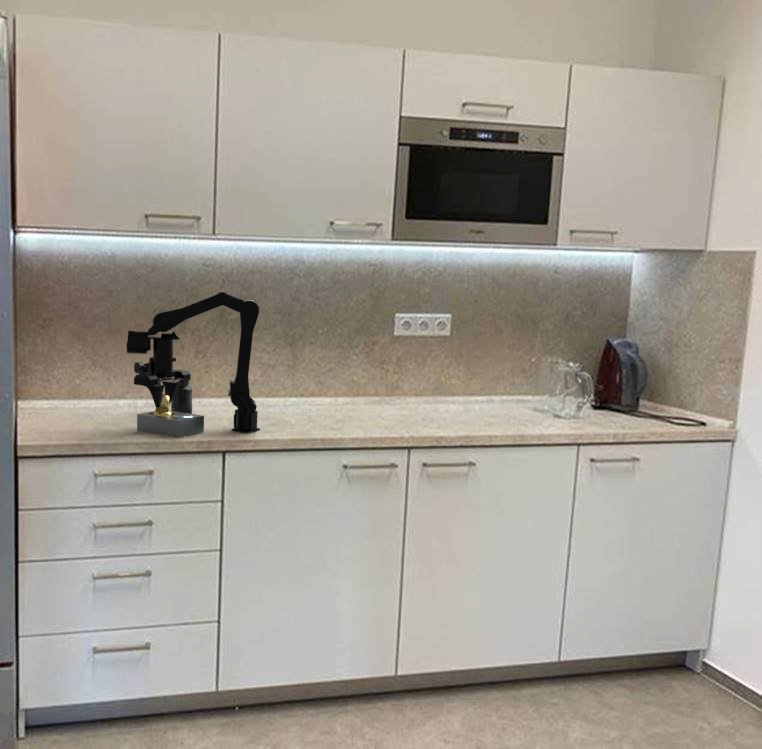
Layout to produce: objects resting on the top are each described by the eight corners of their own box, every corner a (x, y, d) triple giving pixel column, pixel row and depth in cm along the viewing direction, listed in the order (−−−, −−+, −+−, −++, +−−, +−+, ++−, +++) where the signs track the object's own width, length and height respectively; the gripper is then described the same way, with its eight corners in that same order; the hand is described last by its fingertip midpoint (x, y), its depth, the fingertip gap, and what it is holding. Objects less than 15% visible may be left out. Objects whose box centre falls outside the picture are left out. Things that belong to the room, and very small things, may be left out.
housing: (203, 432, 258) (204, 415, 258) (179, 438, 249) (179, 420, 248) (162, 425, 266) (162, 408, 265) (137, 430, 256) (137, 413, 255)
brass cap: (174, 421, 259) (175, 394, 258) (163, 423, 255) (163, 396, 254) (161, 418, 262) (161, 392, 261) (149, 421, 257) (149, 394, 256)
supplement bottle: (183, 411, 290) (183, 376, 288) (196, 414, 286) (197, 378, 284) (166, 414, 285) (166, 377, 283) (179, 417, 280) (180, 380, 279)
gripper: (163, 349, 268) (163, 399, 270) (119, 354, 251) (119, 407, 253) (192, 352, 262) (191, 403, 264) (148, 357, 246) (148, 411, 248)
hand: (162, 406), depth 258 cm, fingers closed on brass cap, 4 cm apart
